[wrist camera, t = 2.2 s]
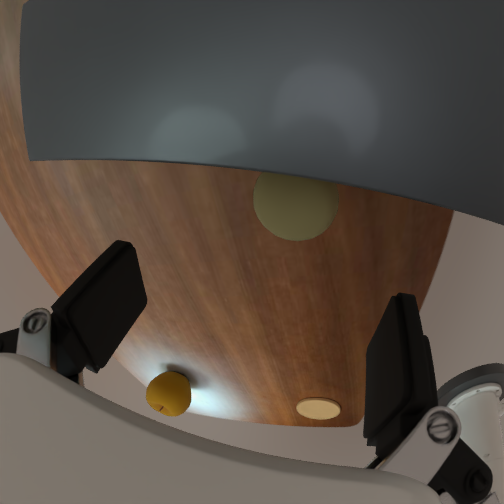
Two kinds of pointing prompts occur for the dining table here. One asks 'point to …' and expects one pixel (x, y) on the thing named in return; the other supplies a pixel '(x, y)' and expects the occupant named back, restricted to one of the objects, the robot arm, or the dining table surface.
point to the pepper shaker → (295, 205)
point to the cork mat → (318, 408)
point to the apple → (169, 393)
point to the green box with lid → (277, 90)
